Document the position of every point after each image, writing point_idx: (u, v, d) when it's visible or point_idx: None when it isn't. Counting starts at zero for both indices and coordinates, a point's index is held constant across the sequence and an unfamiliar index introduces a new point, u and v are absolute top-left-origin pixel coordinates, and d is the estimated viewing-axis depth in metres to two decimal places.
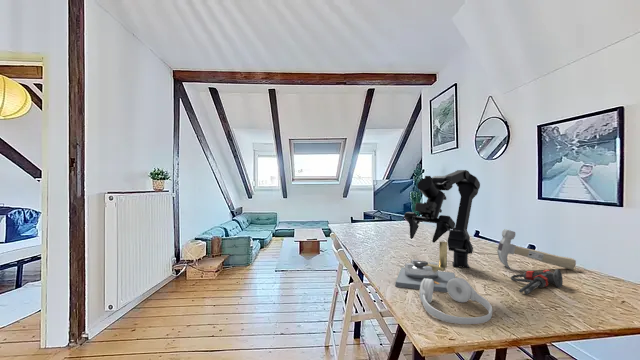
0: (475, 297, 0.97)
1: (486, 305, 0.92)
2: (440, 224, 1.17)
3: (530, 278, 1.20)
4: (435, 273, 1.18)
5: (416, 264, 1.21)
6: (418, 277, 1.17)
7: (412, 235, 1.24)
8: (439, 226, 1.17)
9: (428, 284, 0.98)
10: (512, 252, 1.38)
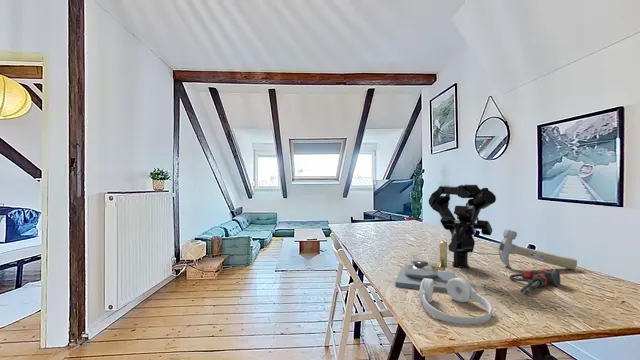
0: (475, 297, 0.97)
1: (486, 305, 0.92)
2: (466, 226, 1.24)
3: (528, 277, 1.21)
4: (435, 273, 1.18)
5: (416, 264, 1.21)
6: (418, 277, 1.17)
7: None
8: (465, 228, 1.25)
9: (428, 284, 0.98)
10: (513, 252, 1.38)
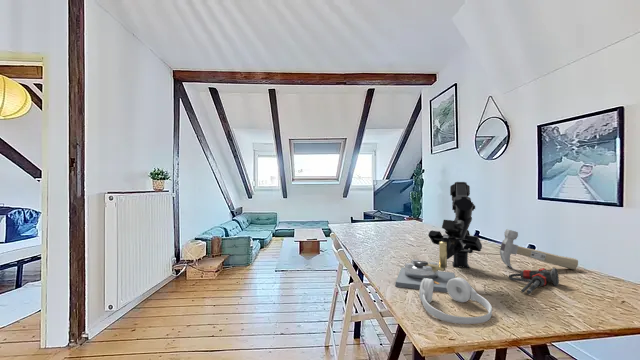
0: (475, 297, 0.97)
1: (486, 305, 0.92)
2: (455, 241, 1.18)
3: (527, 277, 1.21)
4: (435, 273, 1.18)
5: (416, 264, 1.21)
6: (418, 277, 1.17)
7: (447, 255, 1.19)
8: (454, 243, 1.19)
9: (428, 284, 0.98)
10: (515, 252, 1.37)
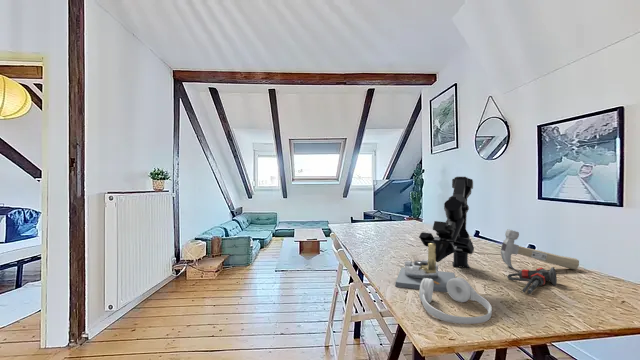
0: (475, 297, 0.97)
1: (486, 305, 0.92)
2: (446, 244, 1.14)
3: (526, 277, 1.22)
4: (424, 274, 1.16)
5: (414, 263, 1.23)
6: (407, 274, 1.20)
7: None
8: (445, 246, 1.15)
9: (428, 284, 0.98)
10: (516, 252, 1.37)
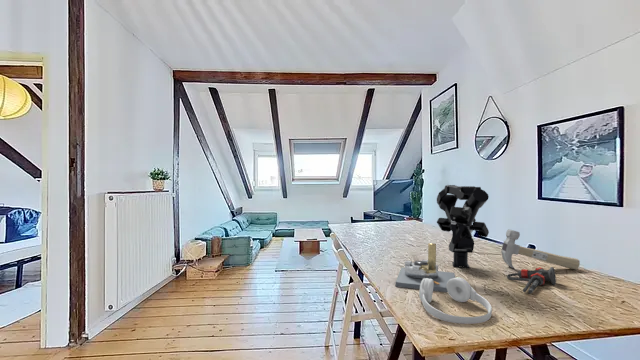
0: (475, 297, 0.97)
1: (486, 305, 0.92)
2: (462, 227, 1.23)
3: (525, 276, 1.22)
4: (424, 274, 1.16)
5: (414, 263, 1.23)
6: (407, 274, 1.20)
7: None
8: (461, 229, 1.23)
9: (428, 284, 0.98)
10: (516, 252, 1.37)
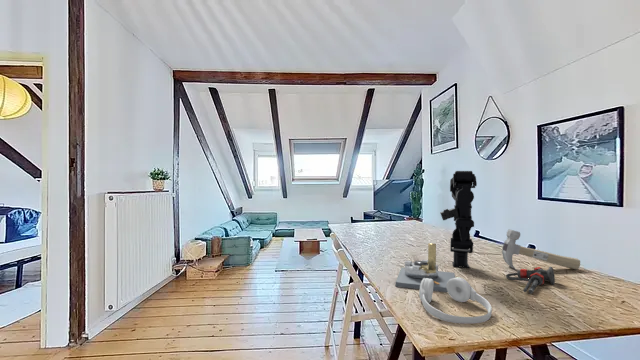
0: (475, 297, 0.97)
1: (486, 305, 0.92)
2: (456, 226, 1.27)
3: (524, 276, 1.22)
4: (424, 274, 1.16)
5: (414, 263, 1.23)
6: (407, 274, 1.20)
7: None
8: (458, 227, 1.27)
9: (428, 284, 0.98)
10: (517, 252, 1.37)
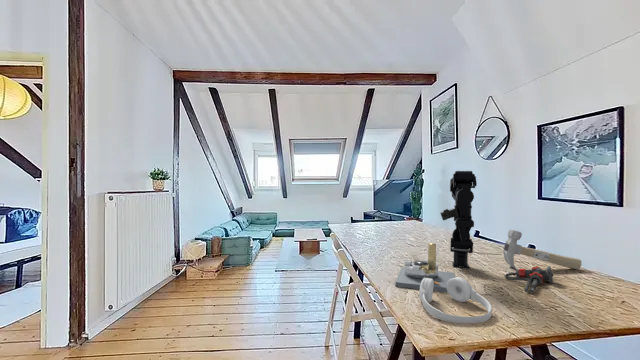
0: (475, 297, 0.97)
1: (486, 304, 0.92)
2: (456, 226, 1.27)
3: (523, 276, 1.23)
4: (424, 274, 1.16)
5: (414, 263, 1.23)
6: (407, 274, 1.20)
7: None
8: (458, 227, 1.27)
9: (428, 283, 0.98)
10: (518, 252, 1.37)
